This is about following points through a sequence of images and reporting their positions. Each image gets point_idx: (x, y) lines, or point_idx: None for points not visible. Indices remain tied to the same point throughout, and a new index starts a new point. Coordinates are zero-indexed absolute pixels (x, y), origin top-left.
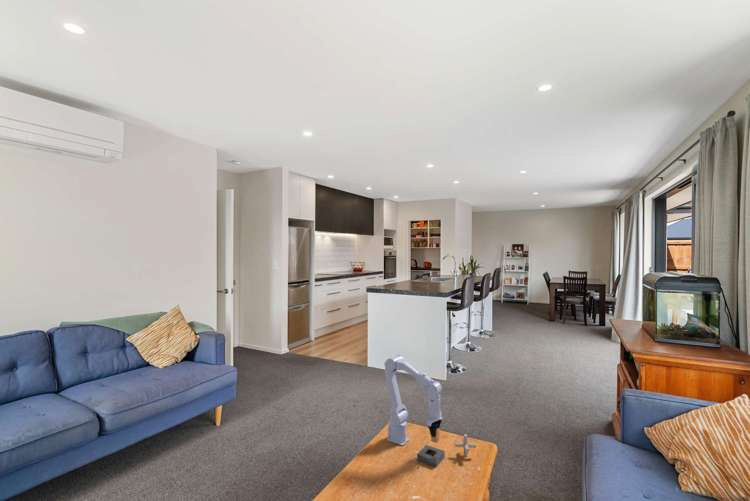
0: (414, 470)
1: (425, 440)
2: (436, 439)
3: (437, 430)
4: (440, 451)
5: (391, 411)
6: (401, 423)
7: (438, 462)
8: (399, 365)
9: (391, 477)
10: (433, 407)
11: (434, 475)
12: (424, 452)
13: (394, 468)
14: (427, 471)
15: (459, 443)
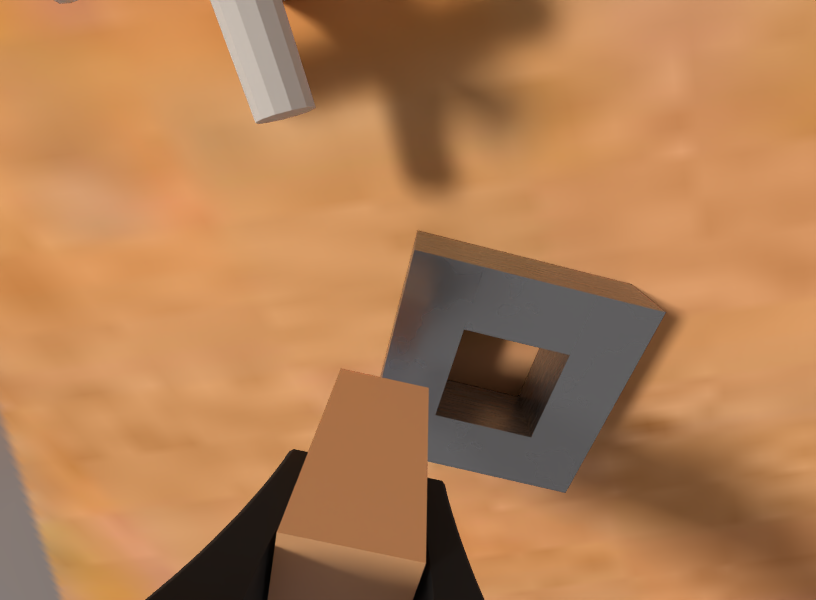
0: (704, 442)
1: (208, 432)
2: (426, 426)
3: (395, 554)
4: (444, 295)
5: None
6: None
7: (587, 279)
8: None
9: (810, 556)
10: None
11: (776, 280)
12: (517, 441)
13: (691, 557)
14: (710, 348)
15: (251, 26)
